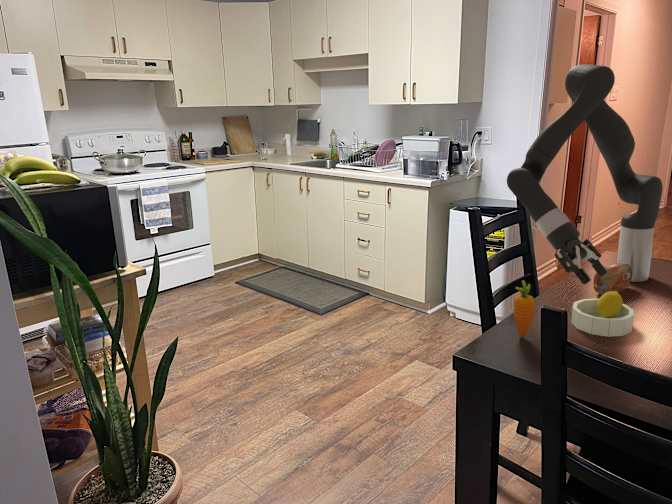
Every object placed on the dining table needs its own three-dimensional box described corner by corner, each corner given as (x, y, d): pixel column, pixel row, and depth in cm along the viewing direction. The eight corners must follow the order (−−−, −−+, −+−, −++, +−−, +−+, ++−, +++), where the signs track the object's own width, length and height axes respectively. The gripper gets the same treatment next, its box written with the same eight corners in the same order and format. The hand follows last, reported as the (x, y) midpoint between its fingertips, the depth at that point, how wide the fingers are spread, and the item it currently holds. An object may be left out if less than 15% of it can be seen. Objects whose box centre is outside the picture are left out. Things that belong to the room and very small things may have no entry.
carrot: (530, 343, 125) (533, 286, 121) (509, 339, 128) (512, 284, 124) (534, 335, 129) (538, 280, 125) (514, 332, 132) (517, 277, 128)
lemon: (616, 323, 130) (631, 296, 130) (596, 312, 131) (611, 285, 131) (607, 322, 136) (622, 296, 136) (588, 312, 136) (602, 286, 137)
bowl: (592, 309, 142) (593, 294, 141) (643, 326, 131) (645, 310, 130) (560, 322, 136) (561, 307, 134) (610, 341, 124) (612, 324, 123)
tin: (599, 298, 150) (602, 271, 148) (590, 295, 153) (592, 268, 151) (631, 287, 157) (634, 262, 154) (622, 285, 159) (624, 259, 157)
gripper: (552, 225, 131) (593, 278, 125) (581, 216, 139) (620, 264, 133) (533, 242, 136) (571, 292, 130) (561, 231, 144) (598, 279, 139)
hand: (596, 278), depth 132 cm, fingers open, 8 cm apart
